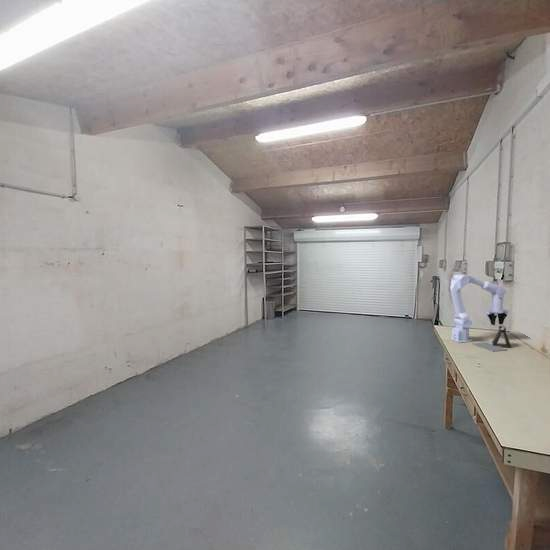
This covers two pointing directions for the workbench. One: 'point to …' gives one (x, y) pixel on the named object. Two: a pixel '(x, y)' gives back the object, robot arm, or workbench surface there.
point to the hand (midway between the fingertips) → (496, 324)
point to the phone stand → (495, 341)
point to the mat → (489, 346)
